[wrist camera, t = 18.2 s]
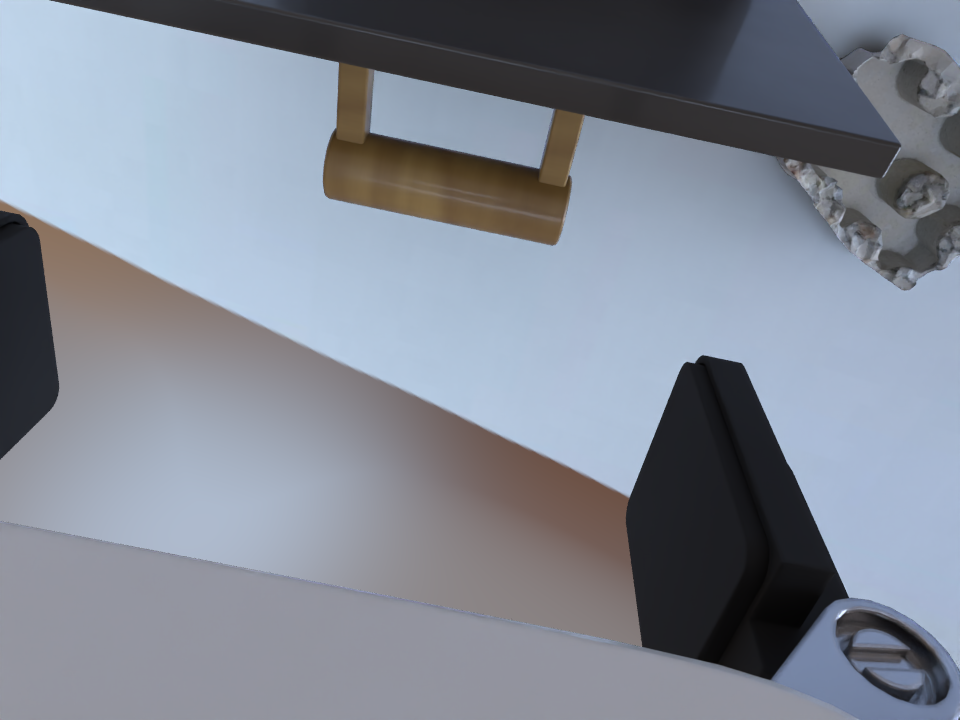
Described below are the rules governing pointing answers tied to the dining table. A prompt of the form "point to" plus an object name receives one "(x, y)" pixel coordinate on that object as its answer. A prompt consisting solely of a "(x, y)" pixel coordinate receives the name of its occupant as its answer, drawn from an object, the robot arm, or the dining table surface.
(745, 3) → the lid
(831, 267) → the dining table surface
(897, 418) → the dining table surface
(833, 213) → the grey rock
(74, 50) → the dining table surface
